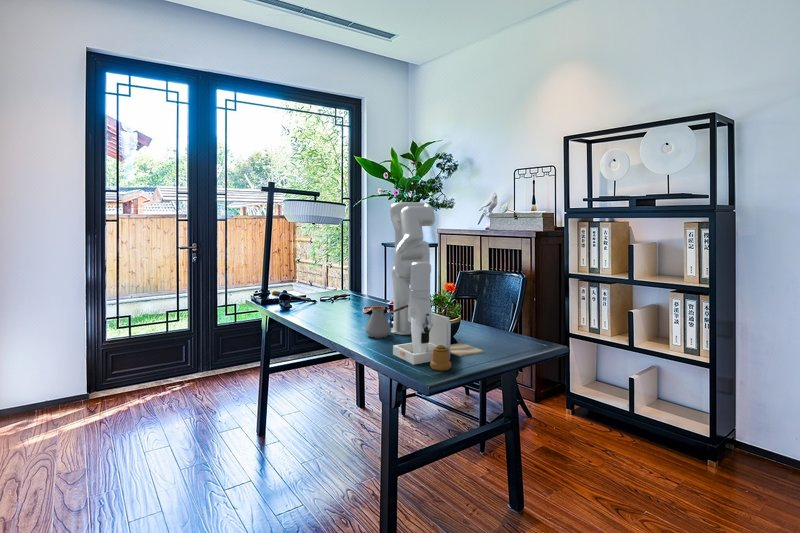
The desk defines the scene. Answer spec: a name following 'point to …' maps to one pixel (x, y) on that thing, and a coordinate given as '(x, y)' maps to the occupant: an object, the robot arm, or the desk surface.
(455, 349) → the wooden pad
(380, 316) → the coffee pot
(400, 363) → the desk surface
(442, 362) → the ornamental finial
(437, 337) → the open case
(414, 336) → the drinking glass
